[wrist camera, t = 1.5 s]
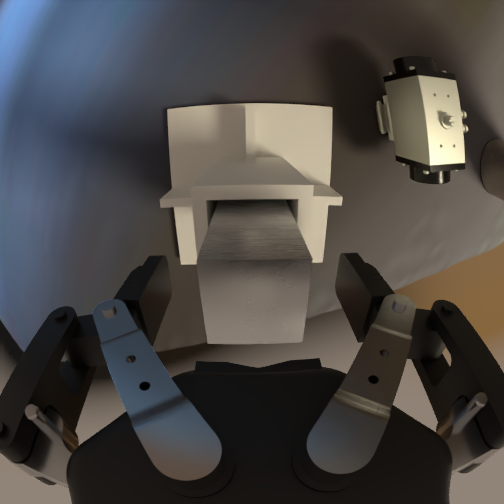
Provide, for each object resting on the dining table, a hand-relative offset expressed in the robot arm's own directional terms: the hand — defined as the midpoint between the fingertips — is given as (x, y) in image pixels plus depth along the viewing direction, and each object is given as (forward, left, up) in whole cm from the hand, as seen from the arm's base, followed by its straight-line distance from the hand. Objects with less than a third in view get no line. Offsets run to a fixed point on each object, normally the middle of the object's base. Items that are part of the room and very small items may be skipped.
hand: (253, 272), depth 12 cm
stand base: (0, 0, -19) cm, 19 cm away
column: (0, 0, -17) cm, 17 cm away
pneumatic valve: (-17, -9, -19) cm, 27 cm away
